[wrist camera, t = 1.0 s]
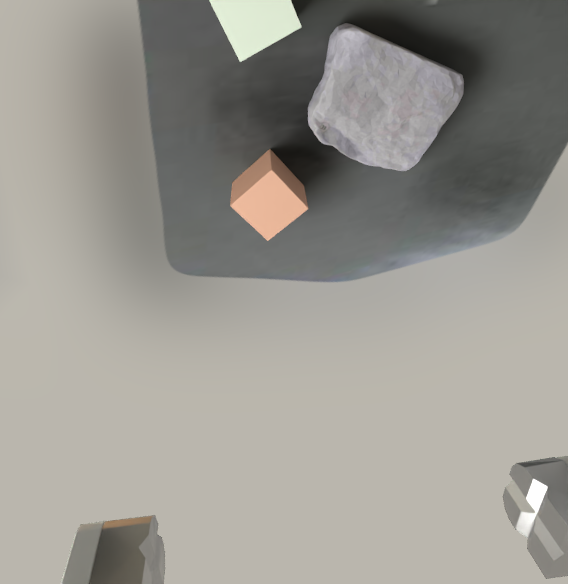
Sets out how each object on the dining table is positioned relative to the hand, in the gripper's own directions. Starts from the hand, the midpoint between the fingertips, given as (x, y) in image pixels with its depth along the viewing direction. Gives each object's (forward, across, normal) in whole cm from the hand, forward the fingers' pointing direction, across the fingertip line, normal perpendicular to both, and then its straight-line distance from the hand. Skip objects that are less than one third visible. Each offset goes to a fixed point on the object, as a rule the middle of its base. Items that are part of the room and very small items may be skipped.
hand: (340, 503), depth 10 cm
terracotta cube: (+37, -2, +3) cm, 38 cm away
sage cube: (+35, -2, -12) cm, 37 cm away
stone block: (+36, -12, -4) cm, 38 cm away
